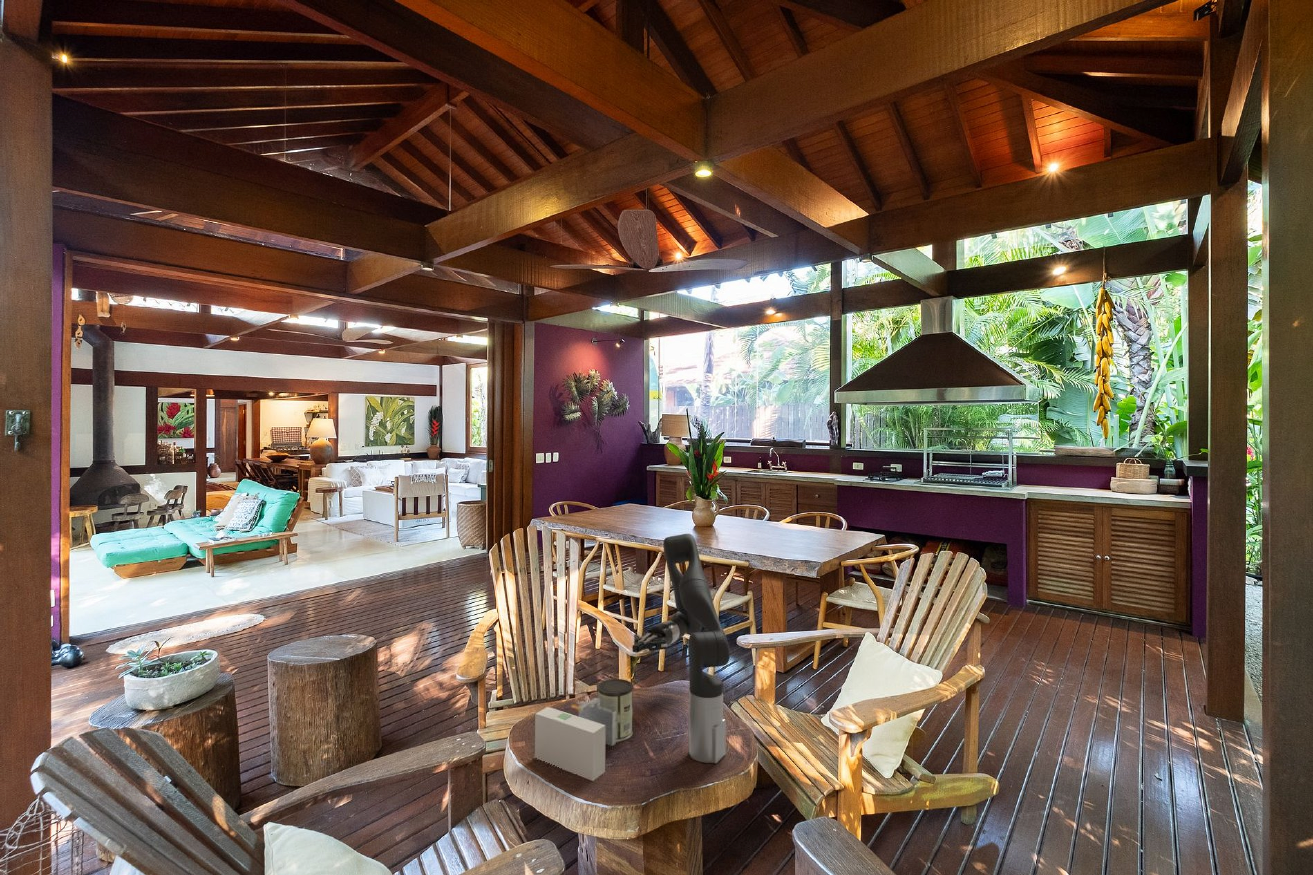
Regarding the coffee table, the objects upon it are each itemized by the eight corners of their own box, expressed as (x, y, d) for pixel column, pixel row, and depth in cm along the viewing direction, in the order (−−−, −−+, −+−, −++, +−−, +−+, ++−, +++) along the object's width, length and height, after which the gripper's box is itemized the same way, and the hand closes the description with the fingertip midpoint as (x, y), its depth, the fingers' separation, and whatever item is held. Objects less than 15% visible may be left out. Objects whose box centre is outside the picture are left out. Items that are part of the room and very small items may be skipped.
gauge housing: (605, 771, 153) (605, 724, 153) (593, 781, 148) (593, 732, 148) (547, 750, 163) (548, 706, 163) (534, 758, 159) (535, 713, 159)
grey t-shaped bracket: (615, 743, 163) (615, 702, 163) (597, 756, 156) (598, 713, 157) (581, 732, 169) (582, 692, 170) (563, 743, 163) (563, 702, 163)
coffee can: (604, 723, 179) (605, 676, 180) (637, 728, 177) (637, 680, 177) (592, 739, 169) (592, 690, 170) (626, 744, 167) (626, 694, 167)
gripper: (647, 619, 200) (617, 633, 185) (681, 626, 193) (652, 641, 178) (647, 642, 200) (617, 657, 185) (680, 649, 193) (652, 665, 178)
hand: (634, 649), depth 182 cm, fingers closed
